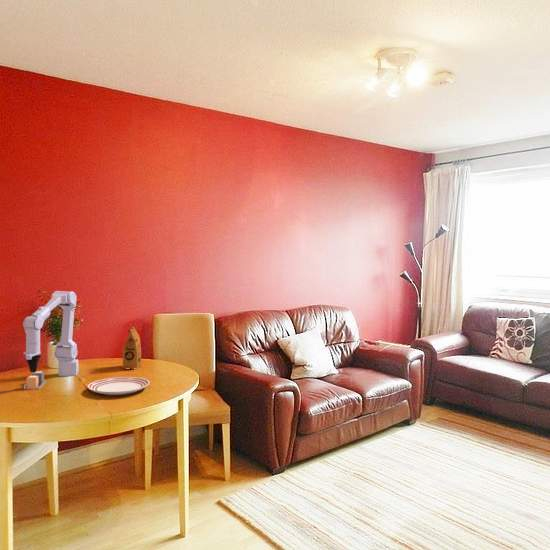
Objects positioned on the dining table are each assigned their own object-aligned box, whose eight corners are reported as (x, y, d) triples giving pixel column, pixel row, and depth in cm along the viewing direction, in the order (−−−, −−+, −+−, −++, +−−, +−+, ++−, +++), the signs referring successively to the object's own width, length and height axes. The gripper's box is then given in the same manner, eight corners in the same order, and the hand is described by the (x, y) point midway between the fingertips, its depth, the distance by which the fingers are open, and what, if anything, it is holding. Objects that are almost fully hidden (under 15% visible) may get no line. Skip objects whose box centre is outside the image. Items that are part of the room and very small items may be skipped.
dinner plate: (88, 384, 228) (88, 377, 228) (146, 380, 238) (146, 373, 238) (87, 401, 203) (87, 394, 203) (152, 396, 213) (152, 388, 213)
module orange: (38, 386, 219) (38, 375, 219) (35, 388, 215) (35, 377, 215) (29, 386, 218) (29, 375, 218) (26, 389, 214) (26, 377, 214)
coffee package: (119, 370, 257) (119, 330, 256) (125, 364, 269) (126, 326, 268) (137, 370, 257) (138, 330, 256) (143, 364, 269) (143, 326, 268)
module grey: (43, 381, 227) (43, 370, 226) (41, 384, 223) (41, 373, 222) (34, 382, 226) (34, 371, 226) (32, 384, 222) (32, 373, 222)
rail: (46, 384, 226) (46, 377, 226) (39, 391, 215) (39, 384, 215) (31, 384, 225) (31, 378, 225) (24, 392, 213) (24, 385, 213)
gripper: (28, 339, 222) (28, 368, 222) (18, 345, 208) (18, 376, 208) (44, 339, 223) (44, 367, 224) (35, 345, 209) (36, 375, 210)
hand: (33, 371), depth 216 cm, fingers closed
